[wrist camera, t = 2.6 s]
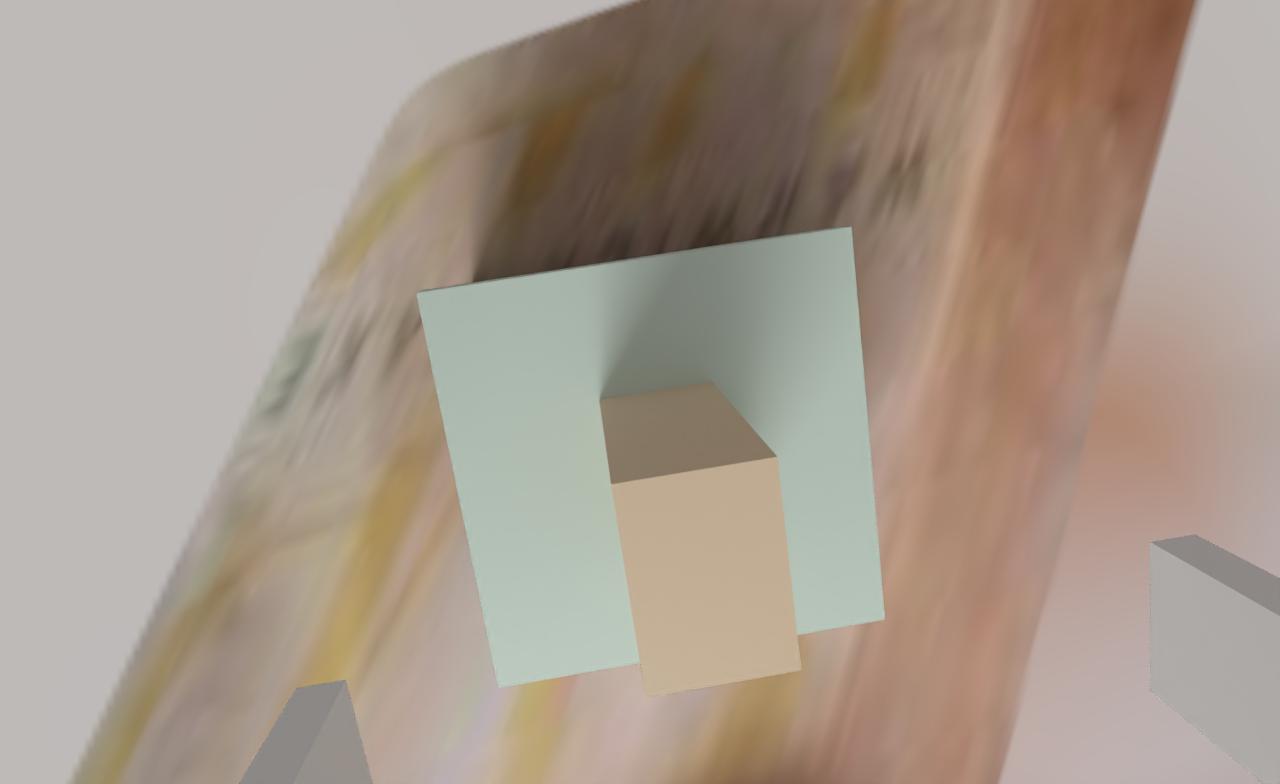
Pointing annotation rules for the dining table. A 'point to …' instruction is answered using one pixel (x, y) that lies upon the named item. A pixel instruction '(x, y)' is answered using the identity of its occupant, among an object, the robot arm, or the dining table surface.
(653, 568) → the lid
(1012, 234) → the dining table surface
